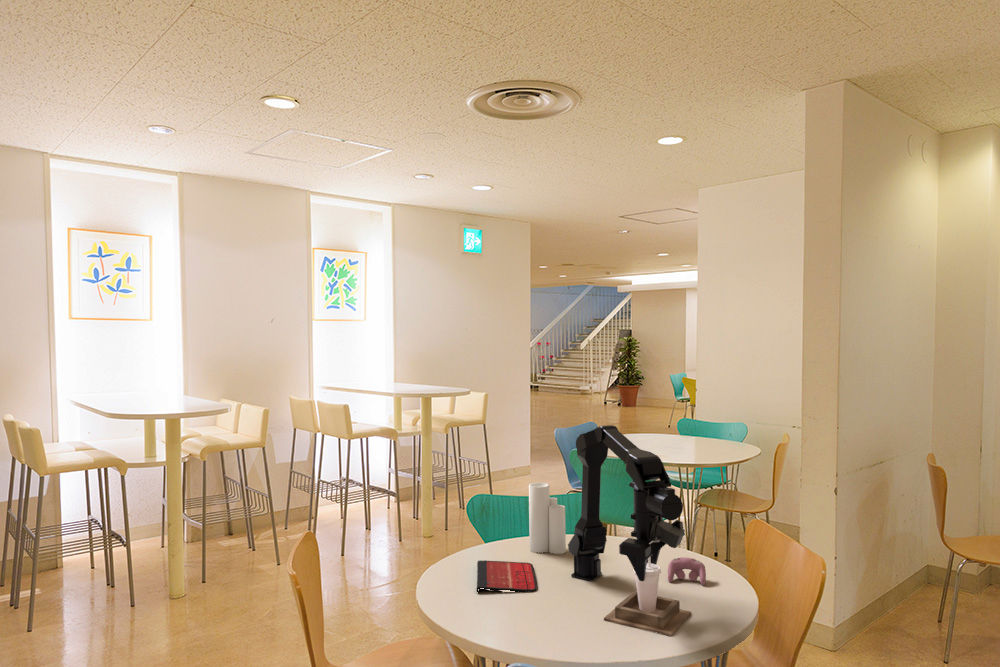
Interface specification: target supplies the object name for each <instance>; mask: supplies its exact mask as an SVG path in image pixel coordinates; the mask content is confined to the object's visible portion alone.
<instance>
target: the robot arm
mask: <svg viewBox="0 0 1000 667" xmlns="http://www.w3.org/2000/svg"><path fill="white" fill-rule="evenodd" d="M575 448H576V455H577V457H578V459H579V460H580V462H581V464H582V474H581V476H582V480H581V509H580V510H581V511H580V512H581V513H580V514H581V515H580V518H578V520H577V523H576V524H575V526H574V533H573V536H572V537H571V539H570V540H569V543H568V544H567V549H568V552H569V554H571V555H572V556H573V573H571V574H570V575H571V577H572V578H578V579H581V580H587V581H590V582H591V581H594V580H595V579H597V578H598V577H600V576H601V575H603V572H602V565H601V564H602V563H601V562H602V561H601V559H600V554H604V552H605V549H606V543H607V531H608V530H607V528H606V526H605V525H604V524H603V523H602V521H601V518H600V514H601V510H600V509H601V508H600V507H601V484H602V483H601V482H602V479H601V478H602V476H601V475H602V466H603V464H604V462H606V460H607V458H608V453H609V450H610V451H611V452H613V453H614V455H615V456H616V457H618V458H619V459H620V460H621V461H622V462H623V463H624V465H625V472H626V473H627V475H628V476H629V477H630V478H631V480H632V481H631V482H630V483H629V484H628V486H629V488H632V490H633V513H631V514H630V520H633V530H632V531H631V532H630V537H628V538H626V539H624V541H622V542H620V544H619V546H618V551H619V552H618V553H619V555H623V556H626V557H627V559H628V561H629V562H630V564H631V566H632V568H634V570H635V572H636V574H637V576H638V579H639V580H640V581H644V580H645V573H646V565H647V563H648V558H649V557H650V556H651V563H652V564H656V565H658V564H657V563H658V560H659V555H660V552H661V549H663V547H665V546H666V545H668V547H669V548H673V549H676V548H678V546H680V545H681V543H682V541H683V538H684V537H685V535H686V532H685V531H686V529H684V523H683V521H681V520H679V517H680V516H681V515H682V513H683V510H684V503H683V502H682V501H683V500H682V499H681V498H680V496H679V495H677V494H676V489H675V488H673V487H672V484H671V478H670V476H669V475H668V472H667V469H666V468H665V465H664V464H663V461H662V459H661V458H660V457H659V456H658V455H657V454H655V453H653V452H651V451H648V450H644V449H641V448H639V447H638V446H637V445H636V444H634V443H633V442H632V441H631V440H630V439H629V438H627V436H625V435H624V434H623V433H622V432H620V431H619V429H618V427H617V426H616V425H613V424H611V425H609V424H608V425H599V426H596V428H594V429H592V430H590V431H587V432H584V433H579V435H578V436H577V437H576V441H575ZM664 519H665V520H667V521H668V522H667V521H664ZM671 521H673V522H671ZM635 572H634V573H635Z"/></svg>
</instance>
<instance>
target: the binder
mask: <svg viewBox="0 0 1000 667" xmlns="http://www.w3.org/2000/svg"><path fill="white" fill-rule="evenodd" d="M476 569H477V570H476V573H477V575H476V577H477V578H476V579H477V580H476V593H477V592H478V589H480V588H484V589H490V590H510V591H515V592H522V593H535V592H537V591H538V585H537V579H536V578H537V577H536V573H535V569H534V565H533V564H532V563H530V562H520V561H519V562H518V561H501V560H500V561H499V560H485V559H484V560H477V568H476ZM536 590H537V591H536ZM534 591H535V592H534Z"/></svg>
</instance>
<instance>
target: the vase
mask: <svg viewBox="0 0 1000 667" xmlns="http://www.w3.org/2000/svg"><path fill="white" fill-rule="evenodd" d="M550 493H551V492H550V484H549V483H546V482H531V483H529V484H528V514H529V515H528V518H529V519H528V521H529V525H528V526H529V527H528V528H529V532H528V534H529V551H530V552H531V551H532V552H531V553H534V552H538V553H537V554H540V553H539V552H542V553H541V554H544V553H543V552H546V553H550V552H551V553H550V554H552V553H554V554H553V555H563V553H564V554H566V553H565V552H567V551H566V546H567V544H566V542H567V539H566V536H567V535H566V506H565V505H563V504H558V498H557V497H554V496H552V497H551V496H550ZM548 551H549V552H548Z"/></svg>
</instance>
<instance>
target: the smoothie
mask: <svg viewBox="0 0 1000 667" xmlns="http://www.w3.org/2000/svg"><path fill="white" fill-rule="evenodd" d="M632 568H633V567H632ZM632 571H633V573H634V576H635V577H634V578H635V585H636V592H637V594H638V601H639V609H640V610H642V611H645V612H652V611H655V609H656V601H657V596H658V592H659V591H658V590H659V582H660V575H661V573H662V569H661V566H660V565H658V564H652V563H651V556H650V557H649V558H648V563H647V565H646V573H645V580H644V581H640V580H639V579H638V576H637V574H636V572H635V570H634V568H633V569H632Z"/></svg>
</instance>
